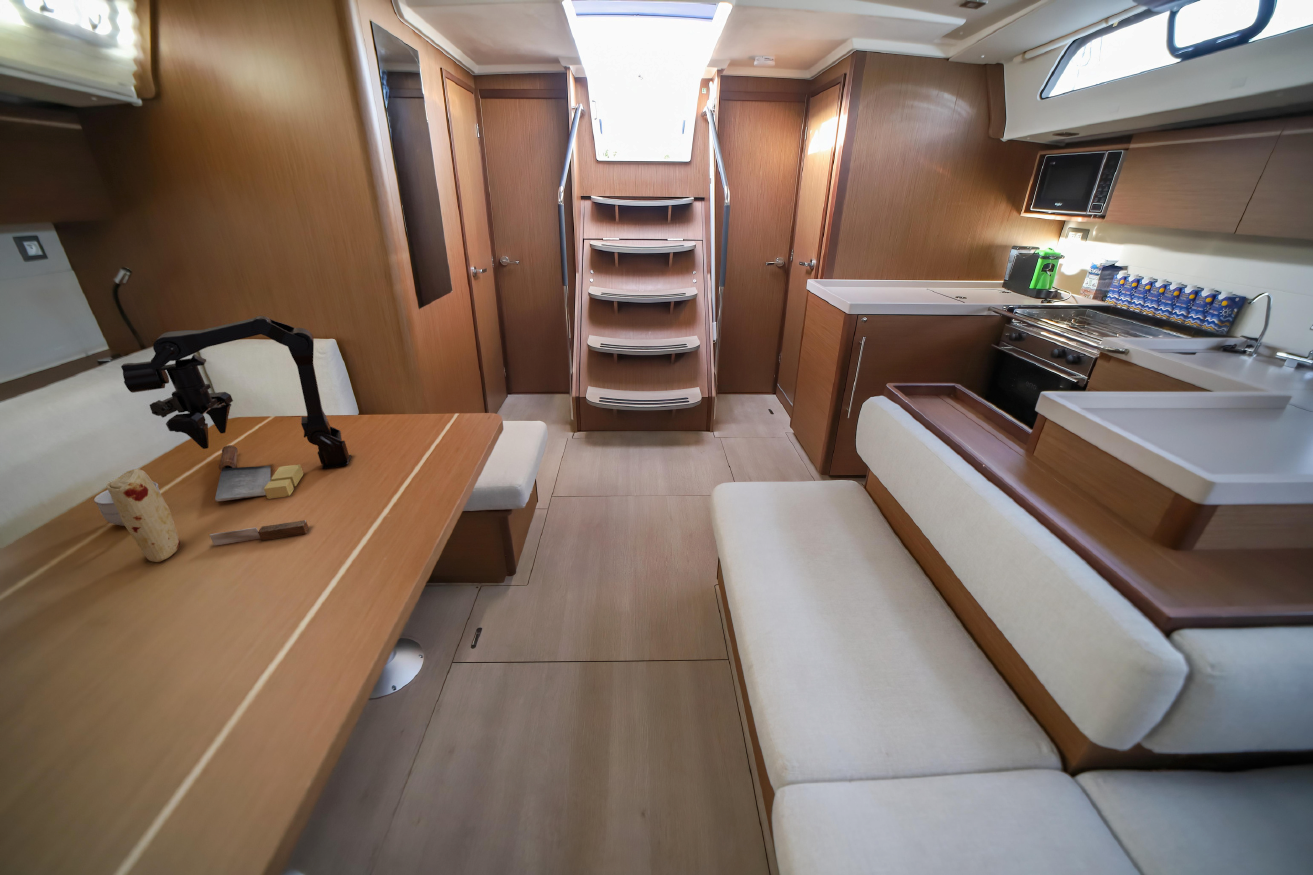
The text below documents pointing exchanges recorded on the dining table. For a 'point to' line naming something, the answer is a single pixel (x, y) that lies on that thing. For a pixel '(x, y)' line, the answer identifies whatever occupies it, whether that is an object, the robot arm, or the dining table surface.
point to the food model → (145, 514)
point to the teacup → (110, 507)
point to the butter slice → (278, 488)
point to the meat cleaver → (240, 478)
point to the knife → (261, 533)
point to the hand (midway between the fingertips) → (214, 440)
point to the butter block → (289, 474)
